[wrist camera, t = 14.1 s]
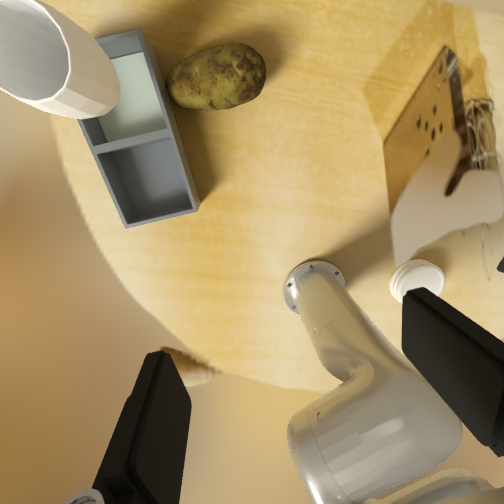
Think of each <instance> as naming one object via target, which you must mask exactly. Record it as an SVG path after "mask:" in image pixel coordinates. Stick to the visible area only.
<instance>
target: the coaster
mask: <svg viewBox="0 0 504 504" xmlns="http://www.w3.org/2000/svg"><path fill="white" fill-rule="evenodd" d="M444 285H445V275H444V272H443V271H442V270H441V269H440V268H439V267H438V266H436V265H434V264H432V263H431V262H429V261H427V260H423V259H415V260H410V261H408V262H406V263H404V264H402V265H401V266H400V267H398V268H397V269H396V271H395V272H394V273H393V275H392V277H391V279H390V284H389V288H390V292H391V294H392V295H393V297H395V298H396V299H397V300H398V301H399V302H400V303H401V304H402V299H403V296H404V295H406V292H407V291H408V290H411V289H415V288H419V287H425V288H427V289H428V290H430V291H431V292H433V293H434V294H435V295H437V296H439V295H440V293H441V292H442V290H443V288H444Z"/></svg>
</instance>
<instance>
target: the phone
mask: <svg viewBox="0 0 504 504" xmlns="http://www.w3.org/2000/svg"><path fill="white" fill-rule="evenodd" d="M497 270H498V271H500V272H503V273H504V257H503V259H502V260H501V262H500V263H499V265H498V267H497Z"/></svg>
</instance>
